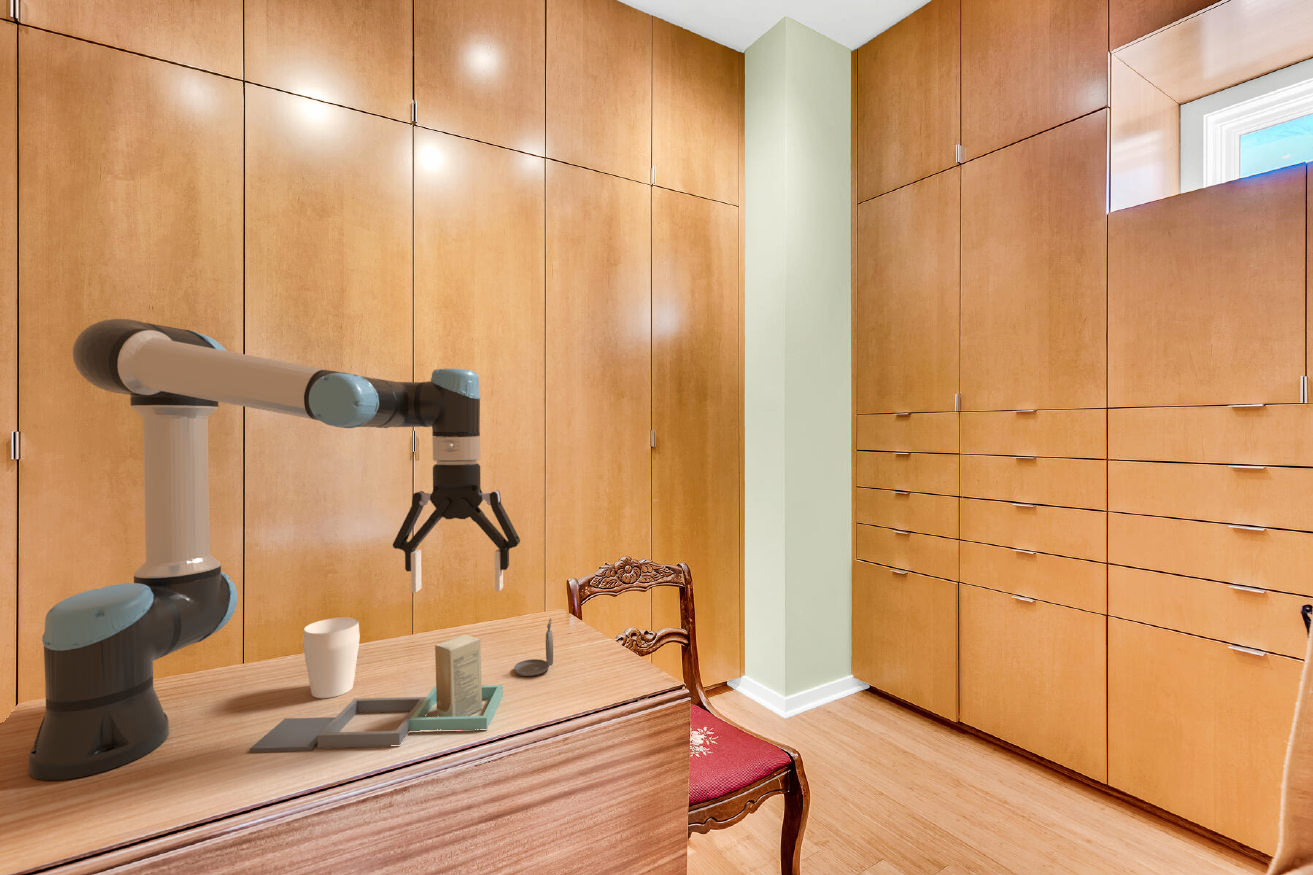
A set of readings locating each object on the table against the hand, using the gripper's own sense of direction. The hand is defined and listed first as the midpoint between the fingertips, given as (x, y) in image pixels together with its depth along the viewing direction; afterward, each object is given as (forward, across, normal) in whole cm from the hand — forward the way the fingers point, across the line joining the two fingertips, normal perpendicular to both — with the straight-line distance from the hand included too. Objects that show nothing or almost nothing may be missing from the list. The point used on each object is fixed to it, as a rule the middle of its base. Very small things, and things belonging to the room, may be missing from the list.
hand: (457, 589), depth 99 cm
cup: (+21, -26, +10) cm, 35 cm away
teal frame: (+21, 0, 0) cm, 21 cm away
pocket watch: (+21, +10, +17) cm, 29 cm away
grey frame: (+21, -12, -4) cm, 24 cm away
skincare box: (+21, 0, 0) cm, 21 cm away
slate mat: (+21, -23, -6) cm, 32 cm away
